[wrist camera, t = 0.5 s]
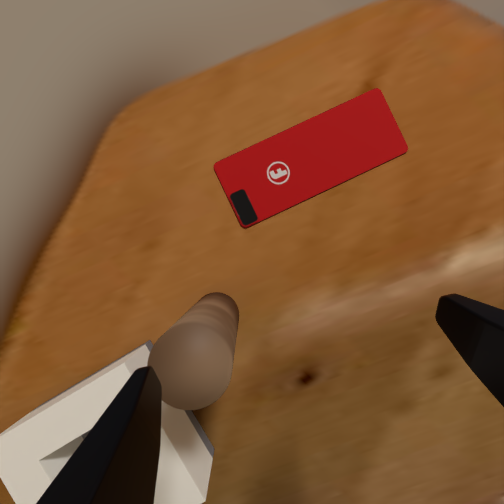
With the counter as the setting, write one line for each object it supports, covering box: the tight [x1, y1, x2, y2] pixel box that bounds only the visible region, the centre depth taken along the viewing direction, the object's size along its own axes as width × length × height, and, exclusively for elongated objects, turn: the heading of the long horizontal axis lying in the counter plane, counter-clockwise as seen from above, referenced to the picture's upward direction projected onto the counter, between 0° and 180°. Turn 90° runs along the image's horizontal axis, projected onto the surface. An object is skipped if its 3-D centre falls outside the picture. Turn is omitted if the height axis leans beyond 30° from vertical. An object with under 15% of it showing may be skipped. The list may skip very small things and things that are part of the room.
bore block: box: [0, 340, 214, 504], centre depth 19 cm, size 10×10×4 cm
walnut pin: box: [147, 293, 239, 410], centre depth 16 cm, size 4×4×10 cm
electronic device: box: [214, 88, 408, 228], centre depth 22 cm, size 6×1×15 cm
